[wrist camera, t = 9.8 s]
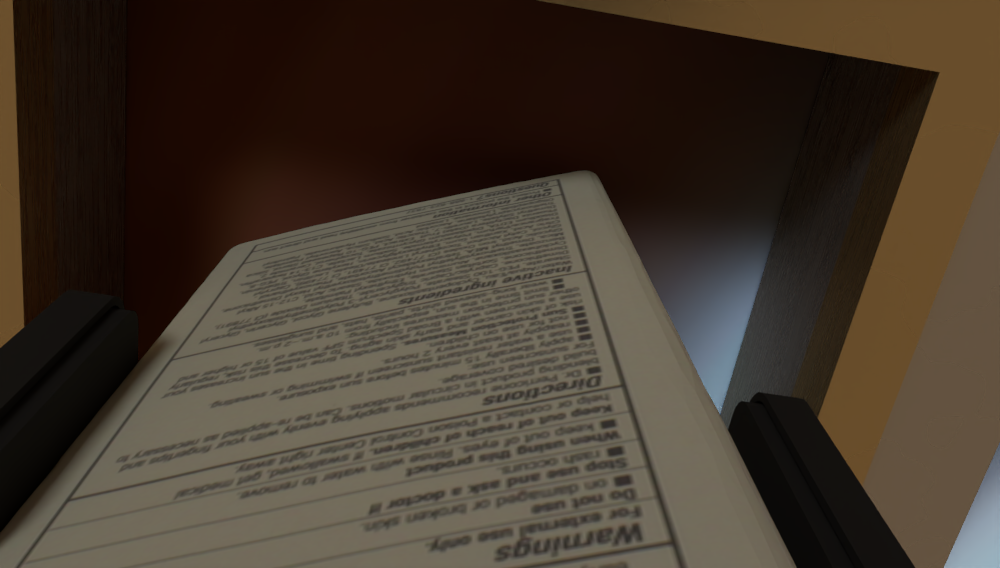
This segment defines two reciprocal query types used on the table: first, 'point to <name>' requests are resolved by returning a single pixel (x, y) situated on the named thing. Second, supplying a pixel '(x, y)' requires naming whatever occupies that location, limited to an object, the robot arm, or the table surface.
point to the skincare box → (412, 409)
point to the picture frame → (792, 258)
